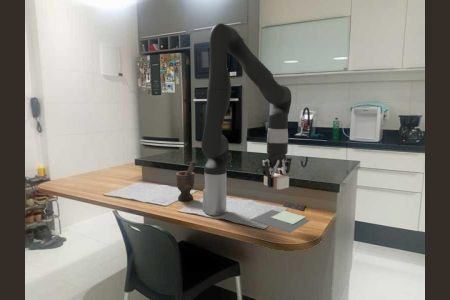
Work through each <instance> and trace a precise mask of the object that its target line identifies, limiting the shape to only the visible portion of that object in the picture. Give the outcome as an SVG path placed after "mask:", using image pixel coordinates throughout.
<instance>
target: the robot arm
mask: <svg viewBox="0 0 450 300" xmlns="http://www.w3.org/2000/svg"><path fill="white" fill-rule="evenodd" d="M228 54H230V55H231V56H232V57H233V58H234V59H236V61H237V62H238V63H239V64H240V66H241V68H242V70H243V72H244V73H245V75H247V77H248V78H249V79H250V80H251V82H252V83H253V84H254V85H255V86H256V87H257V88H258V89H259V92H260V93H261V95H262V96H263V97H264V99H265V100H266V101H267V102H268V103H269V104H271V105H272V111H271V112H270V113H269V114H268V120H267V123H268V124H267V136H266V137H267V138H266V153H267V155H268V156H267V158H266V159H265V160H263V159H262V160H261V161H260V163H261V170H262V175H263V177H264V176H267V185H268V186H267V187H268V188H270V189H271V188H272V189H274V188H273V180H274V178H273V176H274V173H276V172H278V174H280V175H285V176H287V174H289V173H290V169H291V165H292V161H293V160H292V159H293V158H292V157H288V156H286V155H287V154H288V145H289V132H288V129H289V127H288V126H289V114H290V109H291V104H292V92H291V90H290V88H289V87H288V86H285V85H280V83H278V82H277V81H276V79H274V75H273V73H272V71H270V70H269V69H268V67H266V66H265V64H264V63H263V62H262V61H261V60H259V59H258V57H257V56H256V55H254V53H253V52H252V51H251V50H250V48H249V47H248V45H247V44H246V43H245V41H244V40H243V38H242V36H241V35H240V34H239V33H238V31H237V30H236V29H235V28H233V27H231V26H230V25H228V24H225V23H222V22H220V23H217V24H214V26H213V27H212V29H211V31H210V34H209V66H208V67H209V68H208V83H207V94H206V106H205V108H206V109H205V119H204V120H205V121H204V127H203V128H204V129H203V133H202V139H201V147H200V148H201V151H202V154H203V155H204V156H205V157H206V158H207V162H206V163H205V164H204V173H203V174H204V189H203V190H202V211H203V212H204V213H205V214H206V215H208V216H222V215H225V214H226V213H227V170H228V169H227V168H228V166H229V155H230V153H229V152H230V151H229V150H230V148H229V141H228V138H227V137H226V136H225V135H224V134H223V131H222V130H223V124H224V121H225V117H226V115H227V113H228V111H229V110H228V109H229V107H230V102H231V96H232V95H231V93H232V82H231V77H230V73H229V68H228V65H227V63H228V62H227V61H228V60H227V59H228V58H227V57H228ZM277 170H278V171H277ZM270 173H271V174H270Z"/></svg>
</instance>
